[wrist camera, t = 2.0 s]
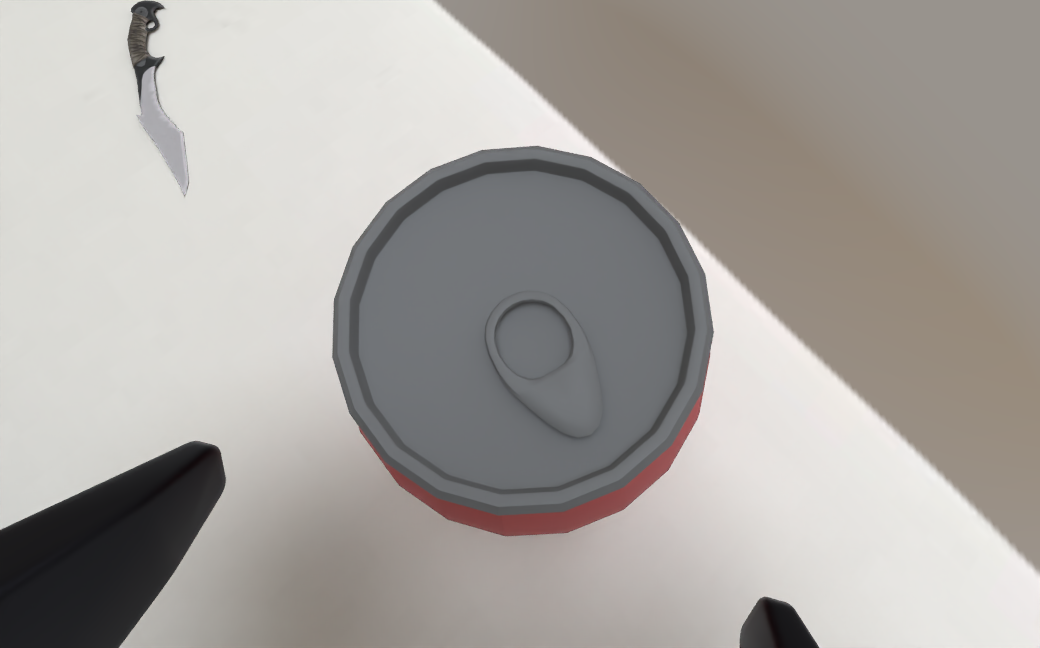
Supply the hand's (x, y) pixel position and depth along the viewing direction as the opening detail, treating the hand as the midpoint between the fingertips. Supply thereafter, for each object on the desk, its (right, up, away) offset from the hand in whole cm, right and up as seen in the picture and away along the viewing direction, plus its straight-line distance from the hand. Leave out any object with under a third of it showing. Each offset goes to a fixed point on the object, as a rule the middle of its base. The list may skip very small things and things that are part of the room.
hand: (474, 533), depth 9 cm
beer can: (+1, +1, +11) cm, 11 cm away
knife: (-12, +15, +15) cm, 25 cm away
